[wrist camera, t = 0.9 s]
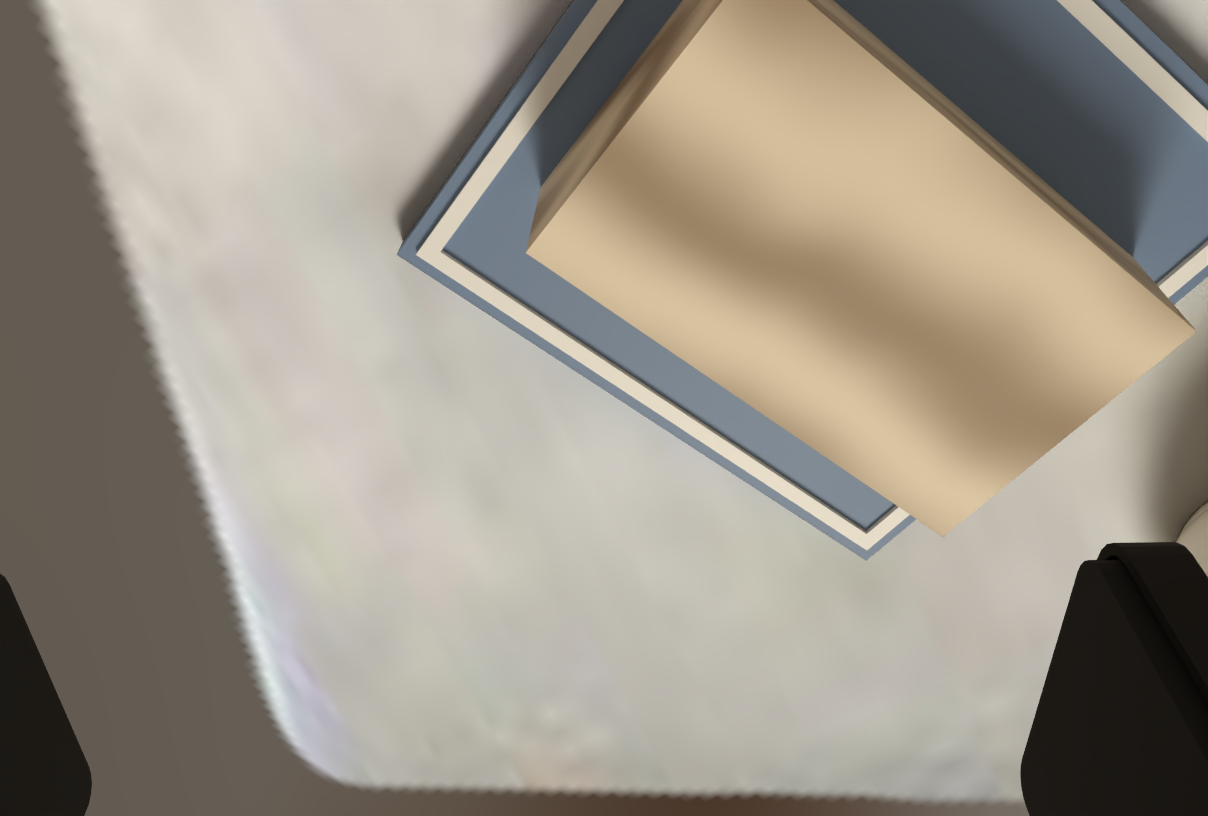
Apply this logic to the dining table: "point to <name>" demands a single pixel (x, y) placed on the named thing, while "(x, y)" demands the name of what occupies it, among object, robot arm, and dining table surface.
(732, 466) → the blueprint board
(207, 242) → the dining table surface
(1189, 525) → the lidded jar
